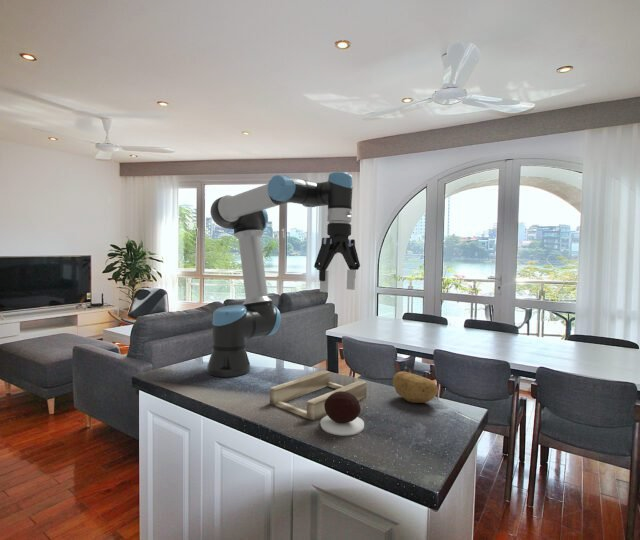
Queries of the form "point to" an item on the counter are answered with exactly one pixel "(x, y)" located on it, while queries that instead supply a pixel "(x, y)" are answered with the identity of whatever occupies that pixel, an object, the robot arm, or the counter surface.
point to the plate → (342, 426)
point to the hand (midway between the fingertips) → (337, 290)
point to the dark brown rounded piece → (342, 407)
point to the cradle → (309, 385)
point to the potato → (414, 387)
